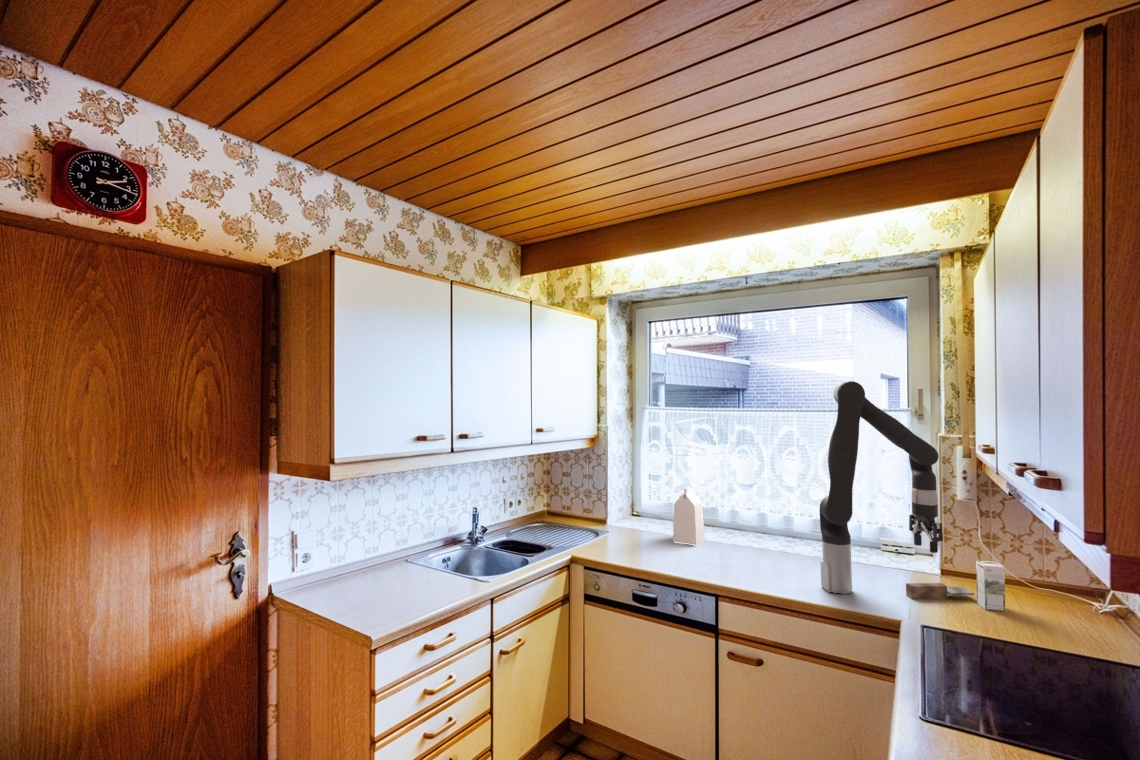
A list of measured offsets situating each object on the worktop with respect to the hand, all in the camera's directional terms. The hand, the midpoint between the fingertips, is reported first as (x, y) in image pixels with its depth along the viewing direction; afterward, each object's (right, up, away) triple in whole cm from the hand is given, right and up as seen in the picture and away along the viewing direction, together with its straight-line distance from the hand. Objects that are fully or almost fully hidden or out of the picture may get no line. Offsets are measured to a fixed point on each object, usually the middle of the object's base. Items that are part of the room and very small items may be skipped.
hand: (925, 548), depth 184 cm
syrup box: (+14, -16, -11) cm, 24 cm away
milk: (-66, -20, +72) cm, 100 cm away
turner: (+4, -16, -1) cm, 17 cm away
